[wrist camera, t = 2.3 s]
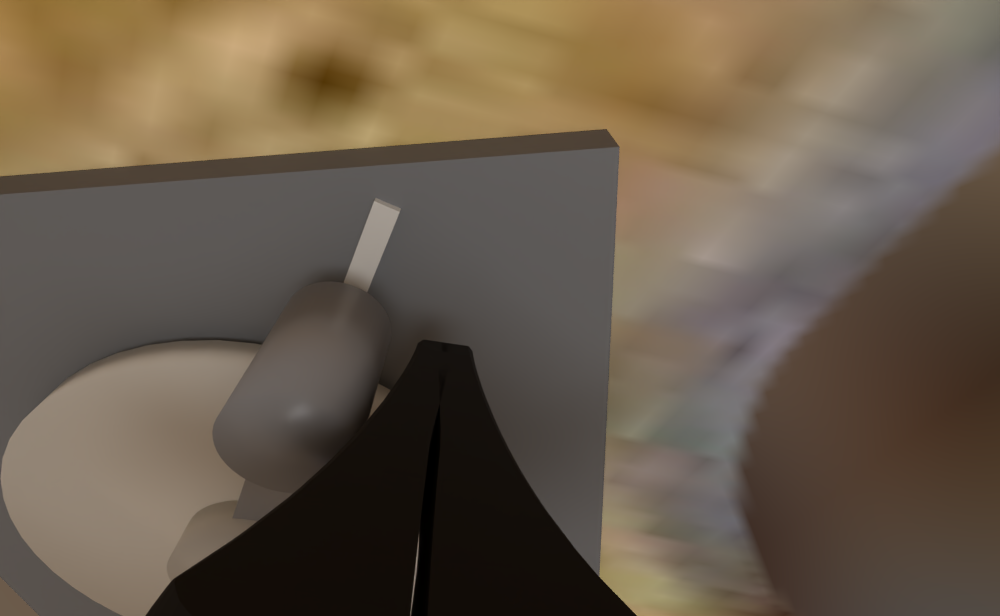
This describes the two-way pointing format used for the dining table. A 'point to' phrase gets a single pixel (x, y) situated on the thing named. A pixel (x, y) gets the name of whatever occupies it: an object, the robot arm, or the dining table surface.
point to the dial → (190, 444)
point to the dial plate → (323, 258)
